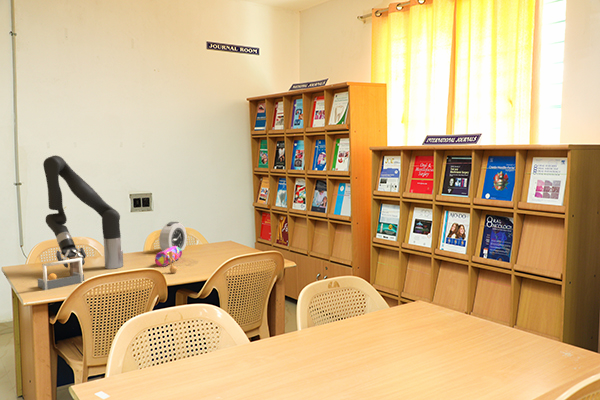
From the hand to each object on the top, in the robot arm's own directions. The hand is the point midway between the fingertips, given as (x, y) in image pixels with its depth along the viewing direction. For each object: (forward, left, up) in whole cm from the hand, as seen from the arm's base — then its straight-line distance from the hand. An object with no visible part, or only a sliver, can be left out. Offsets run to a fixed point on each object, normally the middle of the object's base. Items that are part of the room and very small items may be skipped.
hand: (75, 265), depth 267 cm
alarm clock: (-73, -19, -6) cm, 76 cm away
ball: (+13, +2, -4) cm, 14 cm away
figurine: (-38, +34, -6) cm, 51 cm away
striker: (0, -1, -6) cm, 6 cm away
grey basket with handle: (+13, +12, -6) cm, 19 cm away
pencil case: (-51, +11, -6) cm, 52 cm away
